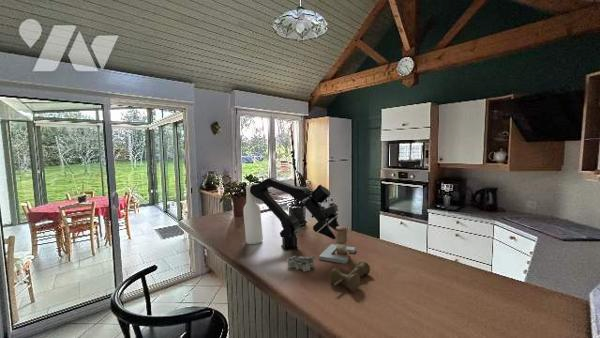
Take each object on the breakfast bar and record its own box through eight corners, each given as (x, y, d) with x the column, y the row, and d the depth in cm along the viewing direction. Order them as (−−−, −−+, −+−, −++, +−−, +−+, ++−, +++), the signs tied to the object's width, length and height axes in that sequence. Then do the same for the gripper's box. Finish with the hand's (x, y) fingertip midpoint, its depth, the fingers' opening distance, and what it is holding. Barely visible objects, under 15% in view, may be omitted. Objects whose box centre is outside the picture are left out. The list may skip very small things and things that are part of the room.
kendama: (376, 278, 100) (345, 299, 86) (354, 271, 107) (322, 289, 93) (376, 262, 100) (345, 281, 86) (354, 256, 107) (322, 272, 93)
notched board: (319, 259, 118) (319, 256, 118) (331, 247, 132) (331, 244, 132) (345, 263, 112) (345, 260, 112) (355, 250, 127) (355, 247, 127)
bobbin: (340, 259, 117) (339, 230, 116) (332, 254, 123) (331, 227, 122) (352, 256, 120) (351, 228, 119) (343, 251, 126) (343, 224, 125)
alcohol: (261, 238, 147) (256, 183, 146) (264, 242, 139) (259, 185, 138) (245, 241, 145) (240, 185, 143) (247, 245, 136) (241, 187, 135)
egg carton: (316, 266, 112) (316, 256, 111) (306, 273, 105) (306, 263, 105) (295, 260, 118) (295, 251, 117) (285, 267, 111) (284, 257, 111)
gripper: (319, 202, 114) (344, 230, 110) (333, 194, 131) (356, 219, 127) (302, 218, 118) (326, 246, 114) (318, 209, 135) (339, 233, 131)
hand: (338, 235), depth 121 cm, fingers open, 9 cm apart
